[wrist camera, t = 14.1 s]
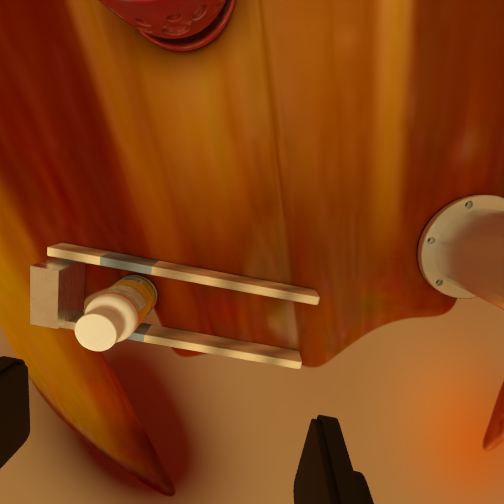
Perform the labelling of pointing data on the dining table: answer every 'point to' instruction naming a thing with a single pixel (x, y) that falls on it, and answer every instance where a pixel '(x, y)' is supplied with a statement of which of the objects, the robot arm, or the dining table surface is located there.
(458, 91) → the dining table surface
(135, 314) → the supplement bottle
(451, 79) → the dining table surface
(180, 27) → the plant pot
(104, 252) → the guide channel
